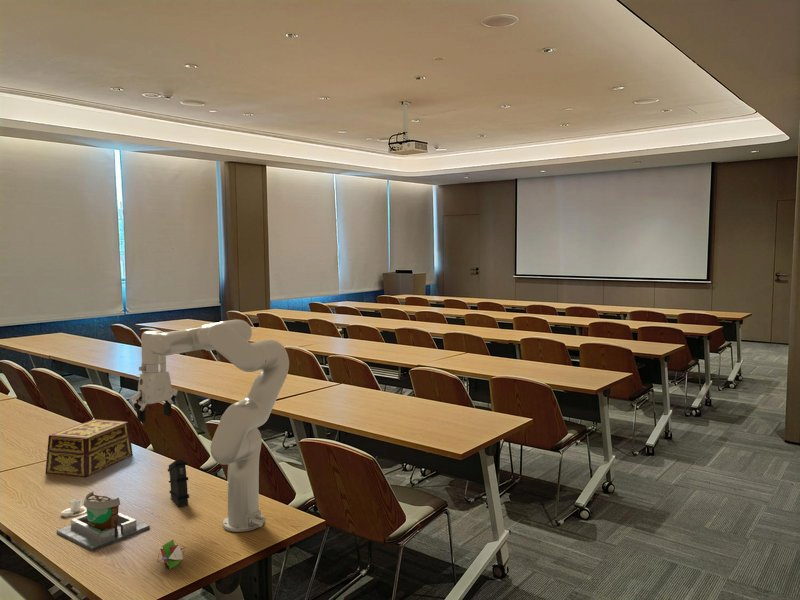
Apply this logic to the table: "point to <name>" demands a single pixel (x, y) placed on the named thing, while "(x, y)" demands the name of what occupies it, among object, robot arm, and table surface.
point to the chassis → (101, 532)
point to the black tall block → (178, 482)
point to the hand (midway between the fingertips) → (154, 418)
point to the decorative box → (88, 448)
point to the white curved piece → (74, 508)
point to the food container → (102, 511)
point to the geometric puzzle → (171, 554)
